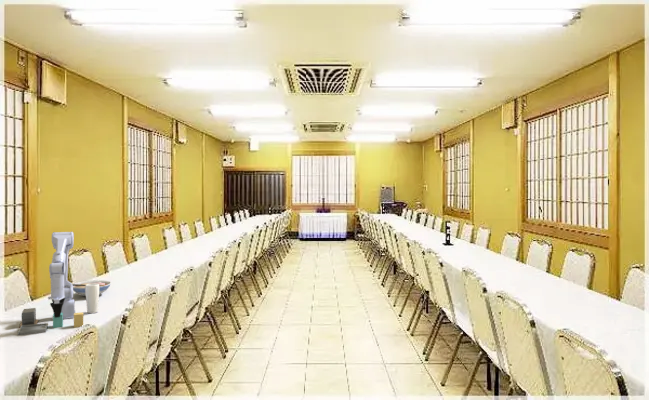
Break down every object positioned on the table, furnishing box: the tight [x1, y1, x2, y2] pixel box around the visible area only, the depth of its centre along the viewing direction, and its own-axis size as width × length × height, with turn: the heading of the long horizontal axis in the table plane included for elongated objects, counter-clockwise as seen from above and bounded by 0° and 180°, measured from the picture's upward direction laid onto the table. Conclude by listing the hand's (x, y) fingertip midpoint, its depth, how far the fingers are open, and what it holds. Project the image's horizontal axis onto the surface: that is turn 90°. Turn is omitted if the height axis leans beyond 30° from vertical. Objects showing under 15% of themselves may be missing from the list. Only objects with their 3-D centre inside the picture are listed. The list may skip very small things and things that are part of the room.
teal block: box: [52, 313, 64, 329], centre depth 238 cm, size 4×4×6 cm
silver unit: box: [18, 307, 39, 329], centre depth 241 cm, size 7×10×7 cm
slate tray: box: [17, 322, 49, 336], centre depth 231 cm, size 11×11×2 cm
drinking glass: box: [85, 283, 100, 314], centre depth 264 cm, size 7×7×15 cm
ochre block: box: [73, 312, 84, 328], centre depth 239 cm, size 4×4×6 cm
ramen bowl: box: [72, 279, 112, 298], centre depth 304 cm, size 25×23×8 cm
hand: (57, 315), depth 238 cm, fingers open, 7 cm apart
